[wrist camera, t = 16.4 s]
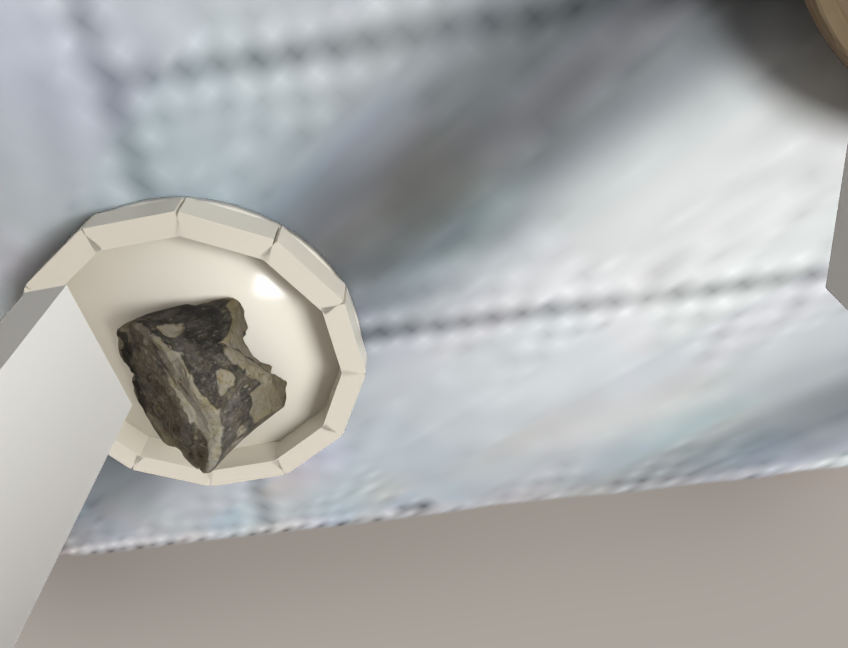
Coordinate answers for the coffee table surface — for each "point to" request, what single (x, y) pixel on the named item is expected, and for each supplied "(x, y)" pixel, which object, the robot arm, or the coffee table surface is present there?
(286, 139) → the coffee table surface
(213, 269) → the round tray
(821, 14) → the plant saucer
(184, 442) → the fossil
